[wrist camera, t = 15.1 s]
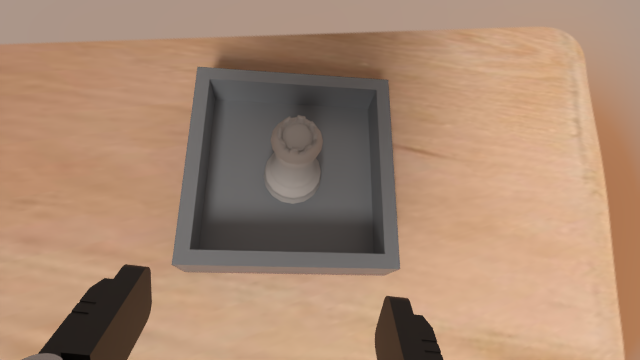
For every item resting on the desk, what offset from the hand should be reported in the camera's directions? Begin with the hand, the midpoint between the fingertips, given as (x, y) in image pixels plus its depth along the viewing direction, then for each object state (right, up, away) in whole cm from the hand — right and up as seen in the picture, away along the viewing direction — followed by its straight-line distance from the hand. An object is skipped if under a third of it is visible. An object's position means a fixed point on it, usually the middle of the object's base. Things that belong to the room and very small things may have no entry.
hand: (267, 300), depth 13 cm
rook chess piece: (0, +4, +18) cm, 18 cm away
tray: (-1, +4, +19) cm, 19 cm away
